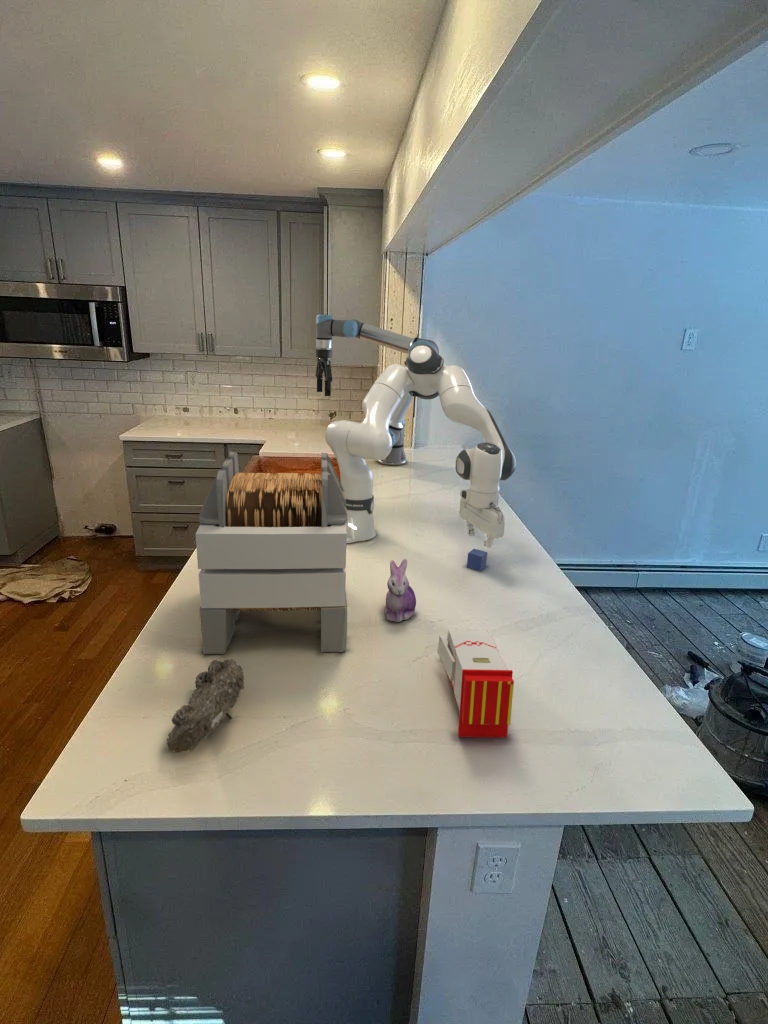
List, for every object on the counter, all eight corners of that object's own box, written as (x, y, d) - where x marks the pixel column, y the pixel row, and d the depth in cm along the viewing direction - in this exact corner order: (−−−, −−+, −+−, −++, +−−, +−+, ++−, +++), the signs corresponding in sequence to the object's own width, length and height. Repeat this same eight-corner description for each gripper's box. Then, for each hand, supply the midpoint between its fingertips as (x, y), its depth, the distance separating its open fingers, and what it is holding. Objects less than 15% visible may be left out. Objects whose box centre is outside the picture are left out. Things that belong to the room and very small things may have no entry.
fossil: (192, 660, 117) (244, 628, 112) (224, 691, 120) (276, 661, 115) (142, 746, 98) (202, 712, 93) (182, 779, 101) (242, 748, 96)
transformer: (223, 585, 158) (215, 442, 144) (341, 584, 161) (344, 444, 148) (200, 656, 126) (186, 481, 112) (347, 652, 130) (351, 482, 116)
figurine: (392, 627, 141) (395, 572, 136) (374, 608, 149) (376, 556, 144) (425, 619, 145) (429, 566, 140) (405, 601, 154) (408, 550, 149)
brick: (480, 571, 174) (481, 556, 172) (466, 567, 176) (468, 553, 174) (485, 566, 177) (487, 552, 176) (472, 562, 180) (473, 548, 178)
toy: (488, 613, 130) (523, 677, 101) (484, 667, 133) (517, 744, 104) (435, 612, 130) (455, 676, 101) (432, 666, 133) (451, 743, 103)
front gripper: (512, 508, 161) (507, 553, 166) (475, 487, 179) (471, 528, 184) (493, 510, 159) (488, 555, 164) (457, 489, 177) (453, 530, 181)
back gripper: (339, 351, 260) (338, 397, 267) (323, 346, 282) (323, 390, 289) (323, 350, 257) (323, 398, 265) (309, 346, 279) (309, 390, 286)
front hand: (479, 541), depth 174 cm, fingers open, 8 cm apart
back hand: (323, 394), depth 277 cm, fingers open, 13 cm apart
